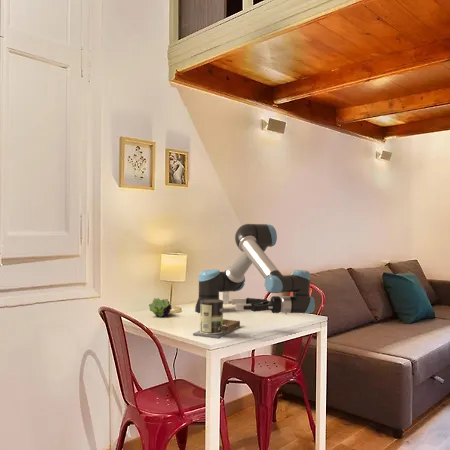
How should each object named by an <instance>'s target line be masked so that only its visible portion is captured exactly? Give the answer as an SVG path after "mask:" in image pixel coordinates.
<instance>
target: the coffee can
mask: <svg viewBox="0 0 450 450" xmlns="http://www.w3.org/2000/svg"><path fill="white" fill-rule="evenodd" d="M200 302H201V313H200V319H199V321H200V323H199V331H200V333H202V334H208V335H216V334H221V333H222V332H223V331H222V330H223V326H224V325H223V317H224V304H223V300H218V299H204V300H201V301H200Z"/></svg>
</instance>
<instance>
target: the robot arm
mask: <svg viewBox="0 0 450 450" xmlns="http://www.w3.org/2000/svg"><path fill="white" fill-rule="evenodd" d="M277 235H278V233H277V230H276V228H275V226H273V225H272V224H269V223H268V224H267V223H245V224H243V225H241V226H239V227H238V229H237V230H236V232H235V234H234V242H235V244H236V246H237V247H238V249H239V250H240V253H239V254H238V256H237V257H236V259H235V261H234V262H233V263H232V265H229V266H228V267H226V269H225V270H224V271H220V270H219V269H217V268H216V269H215V268H213V269H205V270H202V271H200V272H199V275H198V298H197V301H196V304H195V307H194V309H195V310H194V312H196V313H198V314H199V313H201V302H200V301H201V300H204V299H218V300H219V292H229V293H230V292H238V291H239V292H240V291H241V290H242V289H243V288H244V287H245V284H246V283H245V282H246V277H245V274H246V273H247V272H248V270H249V269H250V267H251V266H252V265H254V267H255V268H256V269H257V271H258V272H259V274H260V275H261V276H262V277H263V279H264V287H265V290H266V291H267V293H270V294H282V293H283V294H284V293H292V296H290V295H287V296H286V295H282V296H279V295H278V296H276V295H273V296H271V297H270V300H268V299H266V298H264V299H263V298H253V297H252V298H251V297H246V298H231V305H235V311H250V312H255V313H256V312H263V311H270V312H271V314H279V313H281V314H285V315H288V314H312V313H313V312H315V309H316V304H315V303H316V302H315V298H314V297H313V296H310V295H311V294H310V292H311V291H310V290H311V288H310V285H311V274H310V271H308V270H305V269H297V270H293V274H287V275H284V274H282V272H281V271H280V270H279V269H278V268H277V266H276V265H275V264H274V263H273V262H272V260H271V259H270V258H269V257H268V255H267V254H266V252H265V251H266V250H267V249H268V248H269V247H270V248H272V247H274V246H275V245H276V244H277V240H278V236H277Z"/></svg>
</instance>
